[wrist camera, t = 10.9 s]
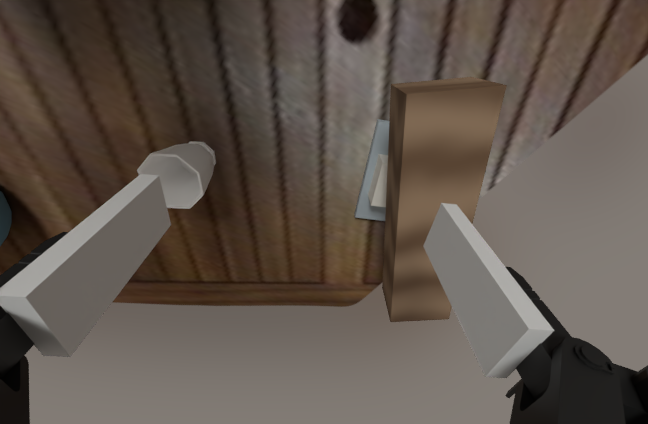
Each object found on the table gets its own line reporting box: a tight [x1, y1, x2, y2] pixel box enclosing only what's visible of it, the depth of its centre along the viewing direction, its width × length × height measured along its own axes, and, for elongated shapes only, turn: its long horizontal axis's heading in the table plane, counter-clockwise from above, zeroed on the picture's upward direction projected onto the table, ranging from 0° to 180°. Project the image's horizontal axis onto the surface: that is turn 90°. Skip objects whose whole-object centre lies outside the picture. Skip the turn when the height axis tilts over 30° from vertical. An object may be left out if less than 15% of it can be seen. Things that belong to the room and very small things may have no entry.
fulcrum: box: [355, 119, 389, 221], centre depth 34 cm, size 14×10×8 cm
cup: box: [137, 141, 216, 209], centre depth 33 cm, size 7×10×8 cm
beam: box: [382, 77, 507, 322], centre depth 29 cm, size 26×7×6 cm, turn 5°
